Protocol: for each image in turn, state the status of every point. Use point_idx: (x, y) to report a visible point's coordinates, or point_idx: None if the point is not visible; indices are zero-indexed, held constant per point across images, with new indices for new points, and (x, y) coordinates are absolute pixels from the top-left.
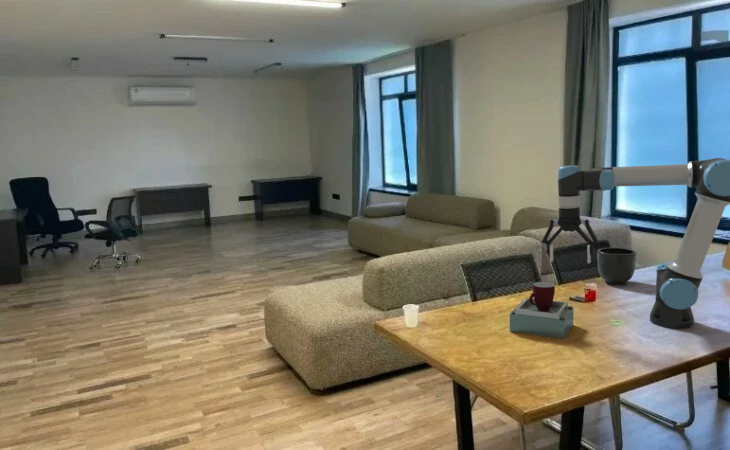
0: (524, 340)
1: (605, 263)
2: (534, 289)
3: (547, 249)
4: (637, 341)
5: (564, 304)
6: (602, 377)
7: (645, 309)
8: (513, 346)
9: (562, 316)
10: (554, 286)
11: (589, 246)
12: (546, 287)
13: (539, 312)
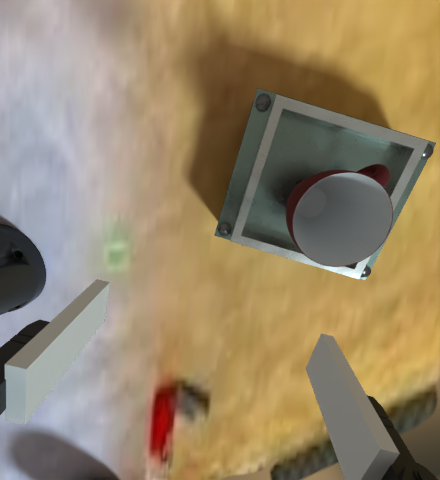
0: (368, 70)
1: None
2: (381, 194)
3: (389, 424)
4: (75, 115)
5: (244, 215)
6: None
7: None
8: (413, 4)
9: (258, 135)
10: (294, 206)
11: (6, 364)
12: (337, 172)
13: (343, 115)
